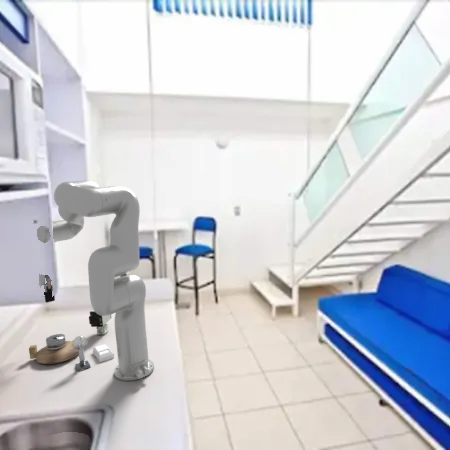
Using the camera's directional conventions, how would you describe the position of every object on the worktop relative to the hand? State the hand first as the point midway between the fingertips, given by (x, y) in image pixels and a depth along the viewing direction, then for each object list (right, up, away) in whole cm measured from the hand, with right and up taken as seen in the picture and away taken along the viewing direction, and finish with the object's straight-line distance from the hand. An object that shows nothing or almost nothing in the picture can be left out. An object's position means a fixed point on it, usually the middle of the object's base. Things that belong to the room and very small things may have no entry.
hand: (48, 298), depth 144 cm
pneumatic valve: (+17, -17, +10) cm, 26 cm away
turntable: (+7, -18, -8) cm, 21 cm away
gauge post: (+20, -20, -17) cm, 33 cm away
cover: (+6, -17, -5) cm, 18 cm away
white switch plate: (+24, -19, -9) cm, 32 cm away
